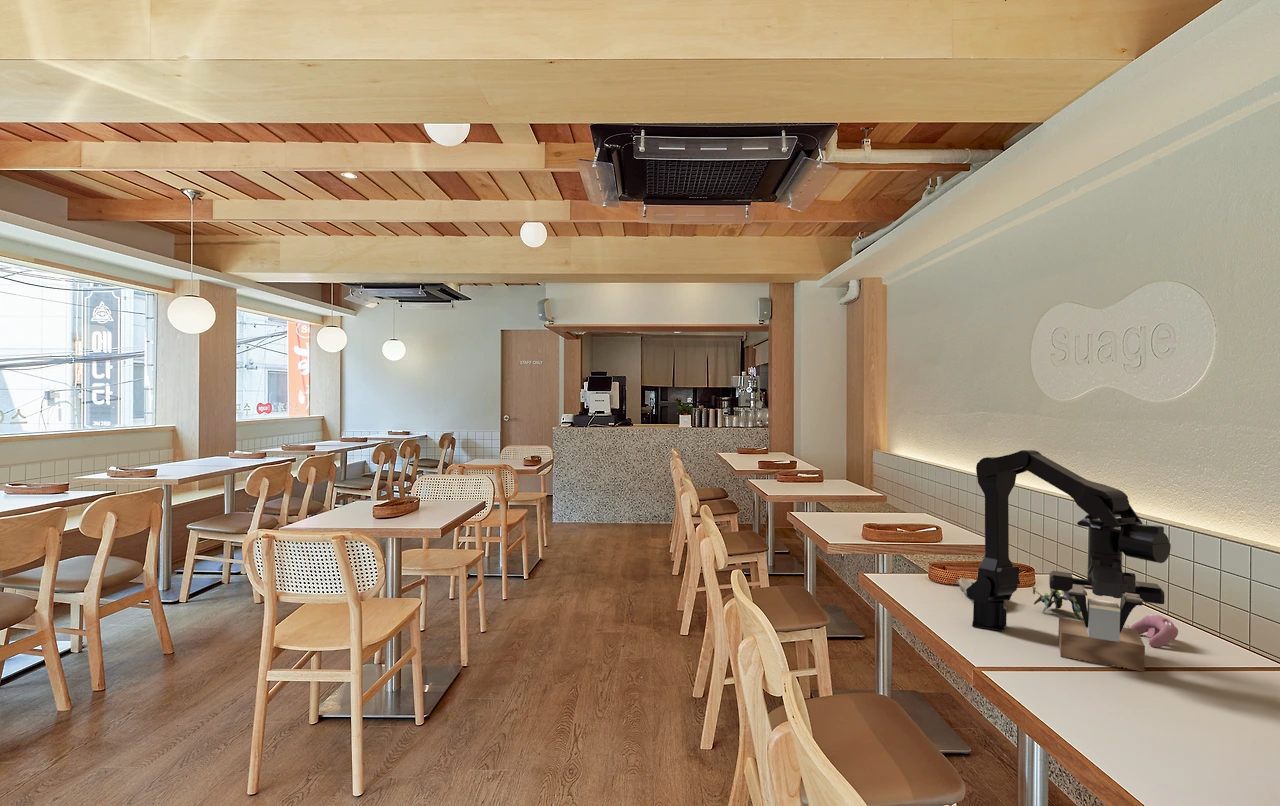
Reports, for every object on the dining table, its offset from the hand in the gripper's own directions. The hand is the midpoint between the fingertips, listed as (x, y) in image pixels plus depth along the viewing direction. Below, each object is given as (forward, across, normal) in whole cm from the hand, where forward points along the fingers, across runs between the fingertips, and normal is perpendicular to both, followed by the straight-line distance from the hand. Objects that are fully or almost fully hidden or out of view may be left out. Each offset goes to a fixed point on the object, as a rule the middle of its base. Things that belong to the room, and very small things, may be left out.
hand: (1102, 629), depth 136 cm
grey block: (+1, 0, 0) cm, 1 cm away
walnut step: (+7, 0, +7) cm, 10 cm away
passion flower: (+8, -6, +35) cm, 36 cm away
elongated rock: (+8, -25, +46) cm, 53 cm away
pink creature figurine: (+8, +12, +25) cm, 28 cm away
